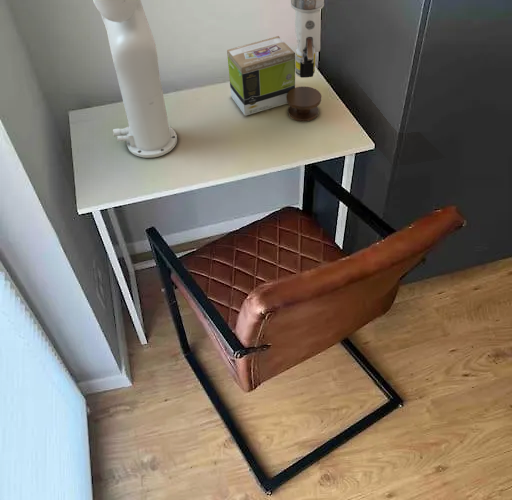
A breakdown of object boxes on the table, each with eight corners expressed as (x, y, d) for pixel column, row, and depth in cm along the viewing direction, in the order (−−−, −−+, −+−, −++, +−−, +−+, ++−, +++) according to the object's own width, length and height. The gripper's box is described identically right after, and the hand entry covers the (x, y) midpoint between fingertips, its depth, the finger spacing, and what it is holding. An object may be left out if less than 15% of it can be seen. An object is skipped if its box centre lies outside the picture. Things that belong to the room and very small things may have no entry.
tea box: (279, 83, 162) (279, 34, 150) (295, 102, 155) (297, 52, 144) (229, 97, 158) (226, 47, 147) (244, 117, 152) (241, 67, 141)
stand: (288, 124, 149) (288, 107, 146) (284, 103, 155) (284, 87, 152) (322, 121, 150) (324, 105, 146) (317, 101, 156) (318, 85, 152)
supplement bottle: (315, 68, 145) (317, 37, 138) (313, 79, 142) (314, 47, 135) (296, 67, 145) (297, 35, 139) (293, 77, 142) (294, 46, 136)
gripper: (330, 15, 124) (325, 88, 138) (318, -20, 135) (314, 51, 149) (295, 17, 124) (294, 91, 137) (286, -18, 135) (286, 53, 149)
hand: (305, 69), depth 143 cm, fingers closed on supplement bottle, 4 cm apart
